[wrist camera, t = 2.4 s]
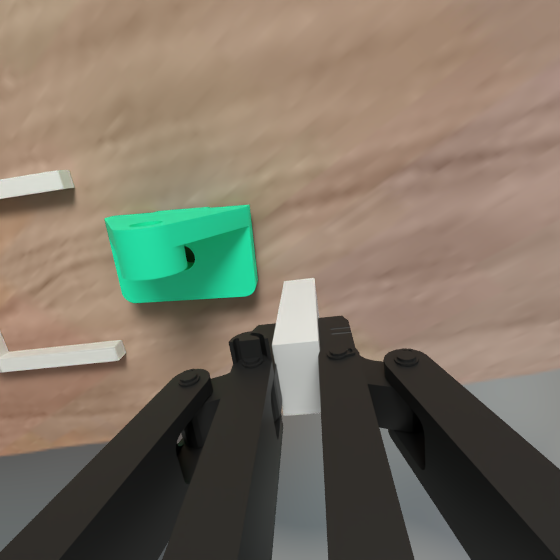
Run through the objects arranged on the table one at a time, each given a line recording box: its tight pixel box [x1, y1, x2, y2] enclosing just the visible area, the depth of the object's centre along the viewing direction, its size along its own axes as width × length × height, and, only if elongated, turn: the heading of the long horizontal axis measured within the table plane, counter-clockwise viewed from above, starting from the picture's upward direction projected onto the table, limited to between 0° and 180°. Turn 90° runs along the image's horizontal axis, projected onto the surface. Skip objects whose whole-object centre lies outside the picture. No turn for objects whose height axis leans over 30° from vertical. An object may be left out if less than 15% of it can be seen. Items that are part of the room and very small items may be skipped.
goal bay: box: [0, 170, 126, 373], centre depth 34 cm, size 14×18×2 cm
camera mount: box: [104, 205, 258, 303], centre depth 28 cm, size 12×8×10 cm, turn 95°
